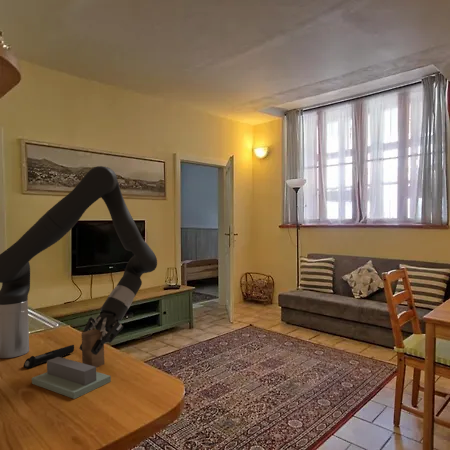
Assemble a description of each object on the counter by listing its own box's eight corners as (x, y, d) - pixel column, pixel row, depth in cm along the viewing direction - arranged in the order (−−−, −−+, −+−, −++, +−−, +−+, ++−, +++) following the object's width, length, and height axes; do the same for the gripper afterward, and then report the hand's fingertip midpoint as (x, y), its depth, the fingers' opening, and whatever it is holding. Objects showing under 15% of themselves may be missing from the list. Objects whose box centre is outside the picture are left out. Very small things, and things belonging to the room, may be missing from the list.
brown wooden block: (82, 366, 108) (81, 332, 108) (94, 361, 112) (93, 329, 112) (92, 369, 105) (91, 334, 105) (104, 364, 109) (103, 330, 109)
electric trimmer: (77, 354, 119) (76, 345, 119) (29, 370, 107) (28, 359, 107) (70, 352, 122) (70, 343, 122) (22, 367, 109) (22, 357, 109)
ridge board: (31, 383, 97) (31, 364, 97) (68, 369, 106) (68, 351, 106) (74, 398, 87) (73, 378, 87) (110, 381, 96) (110, 362, 96)
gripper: (96, 294, 119) (64, 342, 108) (127, 297, 111) (95, 349, 101) (110, 307, 123) (80, 354, 113) (140, 311, 116) (111, 362, 105)
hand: (87, 351), depth 107 cm, fingers open, 4 cm apart
